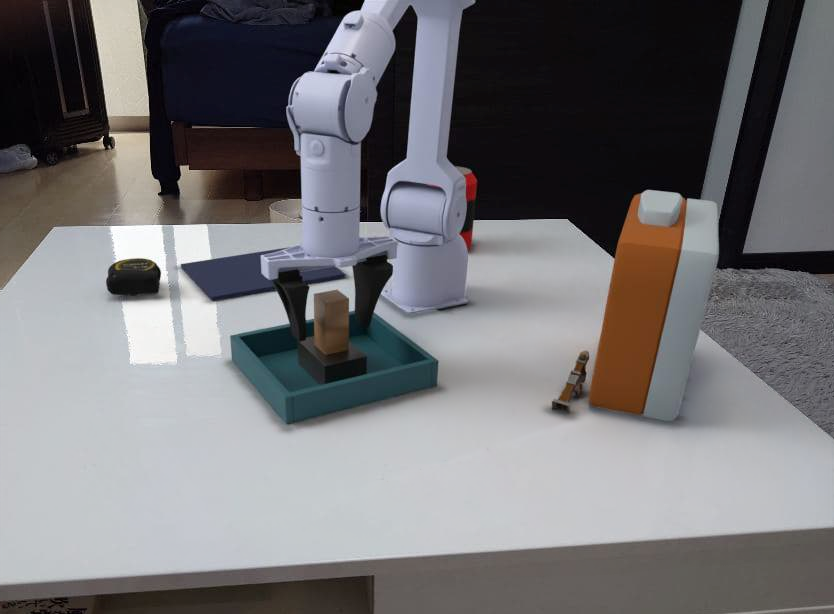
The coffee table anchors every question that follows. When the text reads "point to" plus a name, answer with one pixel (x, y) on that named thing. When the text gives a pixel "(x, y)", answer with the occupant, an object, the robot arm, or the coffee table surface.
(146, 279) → the tape measure
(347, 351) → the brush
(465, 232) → the soda can
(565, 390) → the wooden post with brackets
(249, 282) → the pad
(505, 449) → the coffee table surface
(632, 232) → the orange and white box
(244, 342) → the tray
